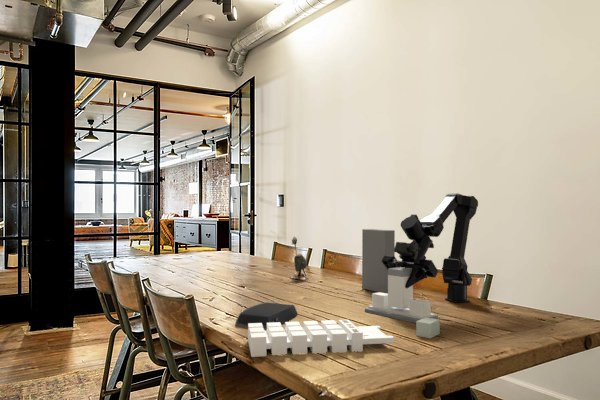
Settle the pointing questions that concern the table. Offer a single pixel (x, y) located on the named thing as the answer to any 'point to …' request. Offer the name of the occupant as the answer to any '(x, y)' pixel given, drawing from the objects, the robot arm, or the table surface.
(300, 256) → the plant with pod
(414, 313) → the board
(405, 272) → the block
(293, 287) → the table surface
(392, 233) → the tall upright grey panel
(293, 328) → the organizer
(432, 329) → the box
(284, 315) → the dark grey faceted block
